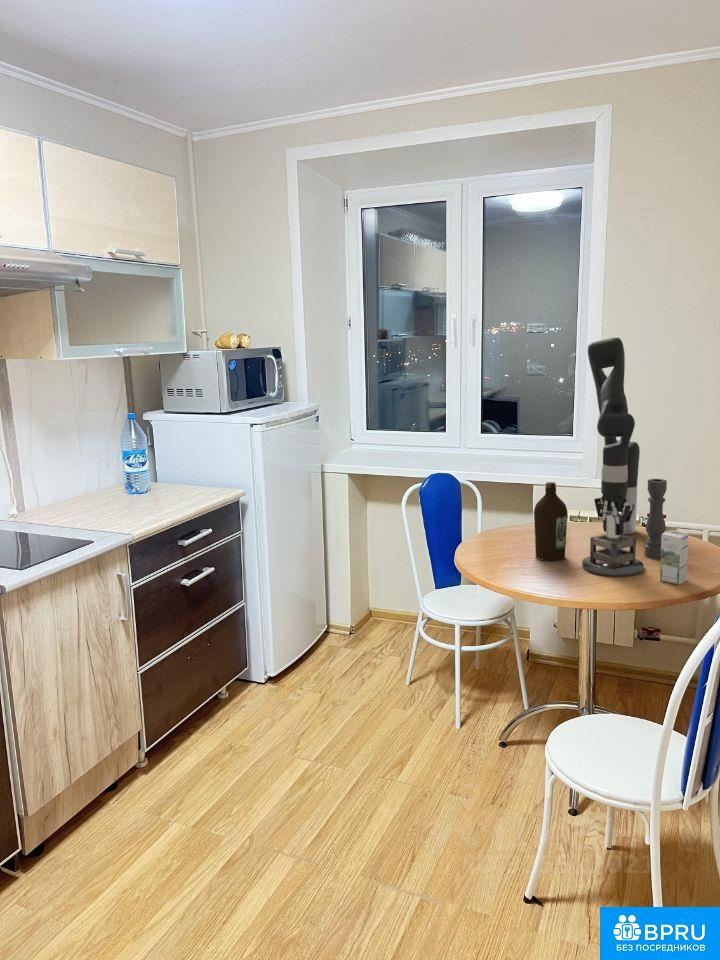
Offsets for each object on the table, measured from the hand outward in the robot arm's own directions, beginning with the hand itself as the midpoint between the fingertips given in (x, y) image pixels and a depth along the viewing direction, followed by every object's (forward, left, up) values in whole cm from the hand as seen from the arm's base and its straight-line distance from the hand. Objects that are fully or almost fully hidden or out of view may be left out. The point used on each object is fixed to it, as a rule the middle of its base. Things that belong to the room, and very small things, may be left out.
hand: (613, 533), depth 221 cm
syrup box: (+14, +13, -11) cm, 22 cm away
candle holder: (-10, +17, -11) cm, 23 cm away
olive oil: (-13, -16, -11) cm, 23 cm away
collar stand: (0, 0, -11) cm, 11 cm away
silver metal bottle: (0, 0, -8) cm, 8 cm away
